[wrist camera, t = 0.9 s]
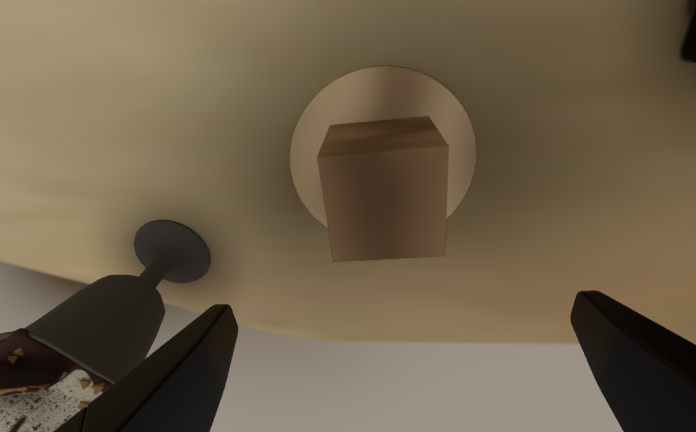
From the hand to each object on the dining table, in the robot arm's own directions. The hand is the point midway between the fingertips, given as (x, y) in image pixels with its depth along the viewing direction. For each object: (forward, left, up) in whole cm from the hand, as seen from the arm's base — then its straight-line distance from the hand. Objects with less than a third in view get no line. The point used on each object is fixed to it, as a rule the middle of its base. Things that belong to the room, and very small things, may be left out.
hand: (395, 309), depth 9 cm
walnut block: (0, 0, -11) cm, 11 cm away
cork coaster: (0, 0, -11) cm, 11 cm away
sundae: (+14, +5, -11) cm, 19 cm away
